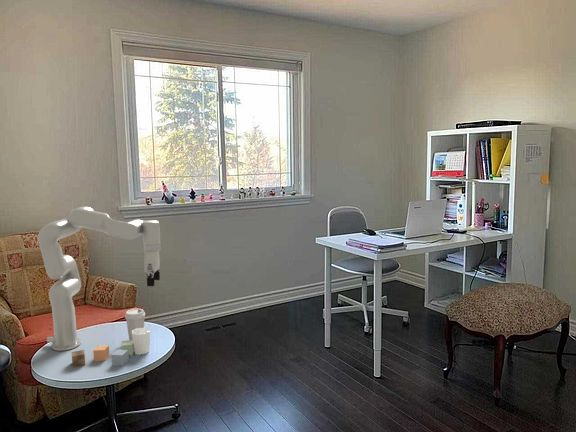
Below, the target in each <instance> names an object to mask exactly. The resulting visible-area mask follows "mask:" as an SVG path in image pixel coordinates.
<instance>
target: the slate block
mask: <svg viewBox="0 0 576 432" xmlns="http://www.w3.org/2000/svg"><path fill="white" fill-rule="evenodd" d="M110 357H111V366H115V367H117V366H118V367H124V366H125V364H127V363H128V362H129V355H128V350H121V349H116V350H115V351H114V352H113V353H112V354H111V356H110Z"/></svg>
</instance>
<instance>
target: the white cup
mask: <svg viewBox="0 0 576 432" xmlns="http://www.w3.org/2000/svg"><path fill="white" fill-rule="evenodd" d="M150 333H151V331H150V328H148V327H144V328H138V329H135V330H133V331H132V341H133V348H134V353H133V354H135V355H138V356H139V355H140V356H142V355H146V354H147V353H149V352H150V345H151V343H150V340H151V339H150V337H151V336H150V335H151V334H150ZM141 354H142V355H141Z"/></svg>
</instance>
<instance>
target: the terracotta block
mask: <svg viewBox="0 0 576 432" xmlns="http://www.w3.org/2000/svg"><path fill="white" fill-rule="evenodd" d="M92 351H93V353H92V354H93V362H103V361H104V362H105V361H106V360H108V358H109V357H110V345H108V344H106V345H103V344H102V345H101V344H99V345H97V346H96V347H95V348H94V349H92Z"/></svg>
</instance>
